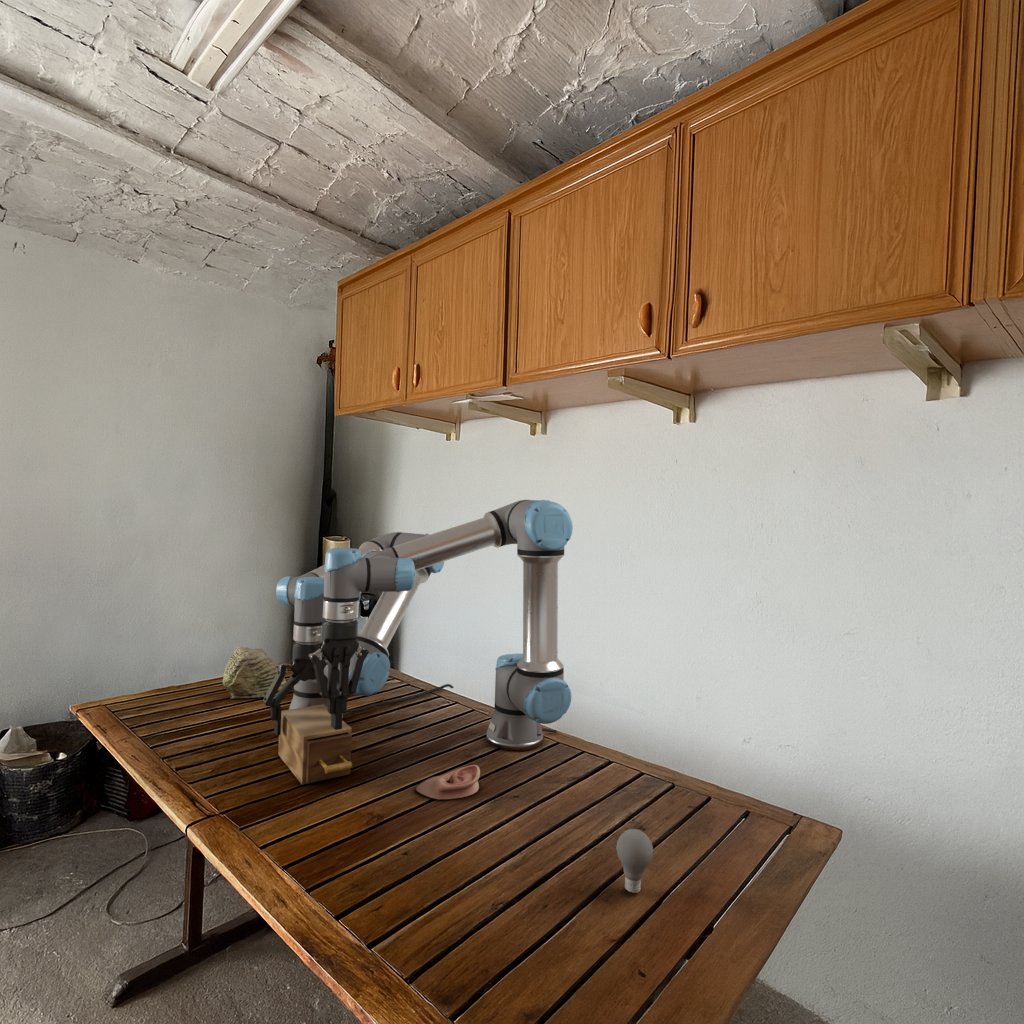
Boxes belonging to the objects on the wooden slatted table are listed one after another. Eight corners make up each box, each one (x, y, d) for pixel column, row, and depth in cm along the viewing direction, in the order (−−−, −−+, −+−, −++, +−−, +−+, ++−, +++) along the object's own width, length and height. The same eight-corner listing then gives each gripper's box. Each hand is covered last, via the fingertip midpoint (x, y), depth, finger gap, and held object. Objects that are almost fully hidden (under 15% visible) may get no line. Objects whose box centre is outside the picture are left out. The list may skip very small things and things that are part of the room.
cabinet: (349, 774, 145) (351, 728, 145) (302, 785, 139) (303, 736, 139) (322, 746, 160) (323, 704, 160) (278, 754, 154) (279, 711, 154)
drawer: (360, 783, 139) (361, 743, 138) (316, 794, 133) (317, 752, 133) (324, 747, 158) (325, 711, 157) (284, 754, 152) (285, 718, 152)
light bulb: (610, 879, 108) (613, 822, 108) (644, 879, 109) (647, 822, 109) (619, 902, 102) (622, 840, 102) (655, 901, 103) (658, 840, 103)
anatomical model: (411, 777, 135) (429, 756, 147) (410, 795, 136) (428, 773, 147) (471, 785, 133) (484, 763, 144) (470, 804, 133) (483, 781, 144)
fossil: (218, 695, 195) (220, 647, 195) (278, 685, 208) (279, 640, 207) (228, 703, 189) (230, 653, 188) (289, 692, 201) (290, 645, 201)
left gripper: (259, 649, 143) (256, 742, 144) (364, 639, 158) (360, 724, 158) (251, 642, 149) (248, 732, 150) (352, 633, 164) (349, 715, 164)
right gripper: (316, 625, 130) (312, 738, 131) (375, 620, 138) (371, 727, 138) (304, 618, 137) (300, 727, 137) (362, 614, 144) (358, 717, 145)
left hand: (305, 728), depth 154 cm, fingers open, 13 cm apart
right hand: (336, 727), depth 138 cm, fingers closed
